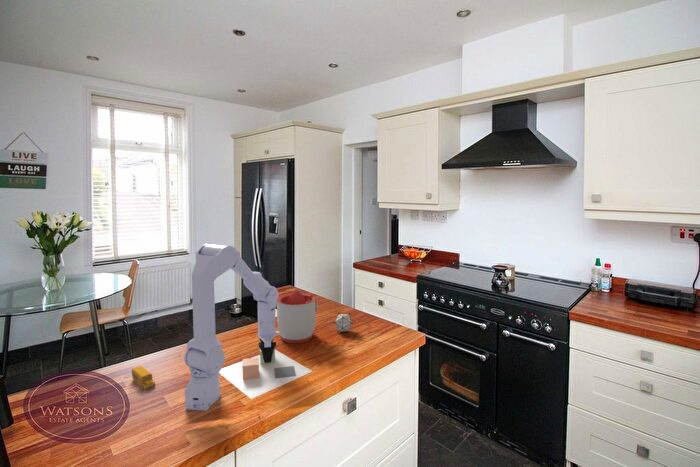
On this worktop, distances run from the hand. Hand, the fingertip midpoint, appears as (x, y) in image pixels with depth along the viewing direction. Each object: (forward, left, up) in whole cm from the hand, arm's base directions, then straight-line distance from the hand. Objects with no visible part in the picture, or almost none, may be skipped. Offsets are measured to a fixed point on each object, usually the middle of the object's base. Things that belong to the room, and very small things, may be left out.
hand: (267, 358), depth 120 cm
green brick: (0, 0, -1) cm, 1 cm away
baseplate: (-7, -1, -2) cm, 7 cm away
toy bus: (-16, +34, -2) cm, 37 cm away
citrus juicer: (+21, -6, -2) cm, 22 cm away
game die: (+30, -23, -2) cm, 38 cm away
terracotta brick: (-10, +2, -1) cm, 10 cm away
